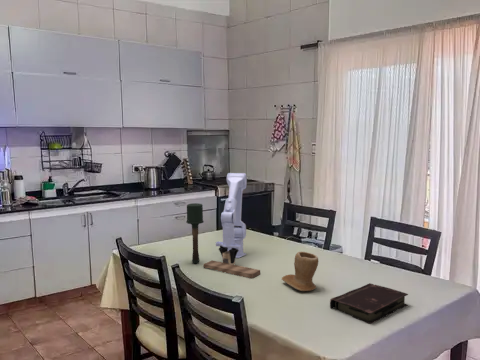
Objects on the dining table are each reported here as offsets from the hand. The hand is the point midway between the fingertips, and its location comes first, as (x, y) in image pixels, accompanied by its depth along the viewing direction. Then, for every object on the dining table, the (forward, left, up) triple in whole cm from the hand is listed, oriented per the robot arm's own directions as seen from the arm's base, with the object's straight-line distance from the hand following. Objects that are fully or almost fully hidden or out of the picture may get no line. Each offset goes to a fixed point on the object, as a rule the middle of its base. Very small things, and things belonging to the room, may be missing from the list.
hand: (228, 262), depth 216 cm
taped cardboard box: (0, 0, -2) cm, 2 cm away
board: (+6, -7, -2) cm, 9 cm away
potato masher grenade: (-16, -6, -2) cm, 17 cm away
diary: (+74, -13, -2) cm, 75 cm away
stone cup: (+43, -7, -2) cm, 44 cm away
